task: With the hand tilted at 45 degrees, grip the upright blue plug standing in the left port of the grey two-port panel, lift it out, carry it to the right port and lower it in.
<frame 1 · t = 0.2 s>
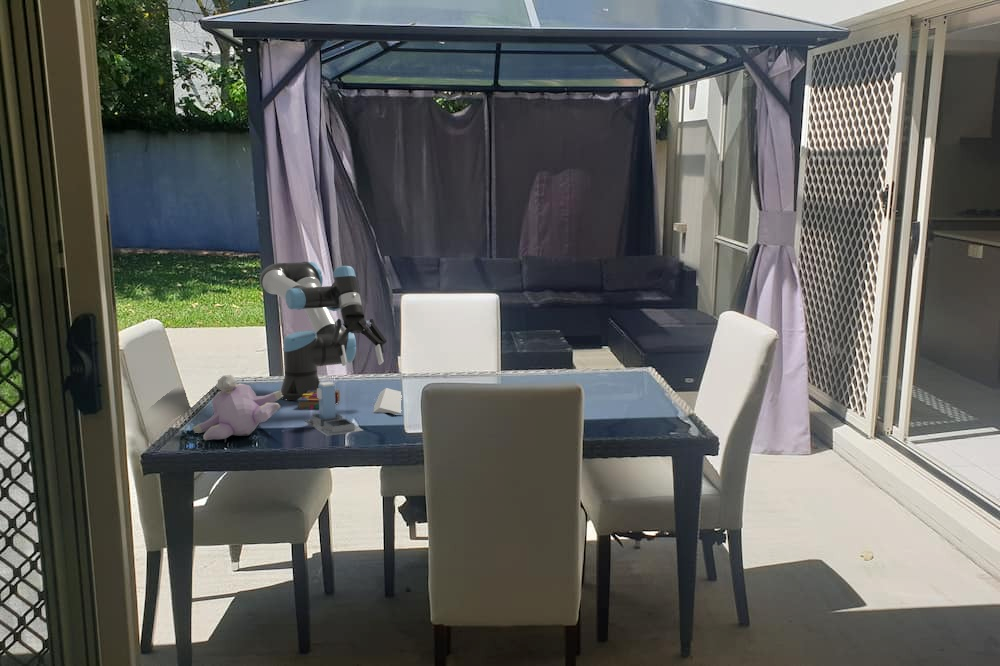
hand: (363, 363, 297), 16 cm above the table, tool tilted 35°, fingers open, 13 cm apart
decorative book: (319, 408, 303), on the table
toy: (239, 430, 274), on the table
plug: (327, 421, 279), point 1 cm above the table, touching panel
panel: (333, 429, 275), on the table
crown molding: (389, 407, 306), on the table
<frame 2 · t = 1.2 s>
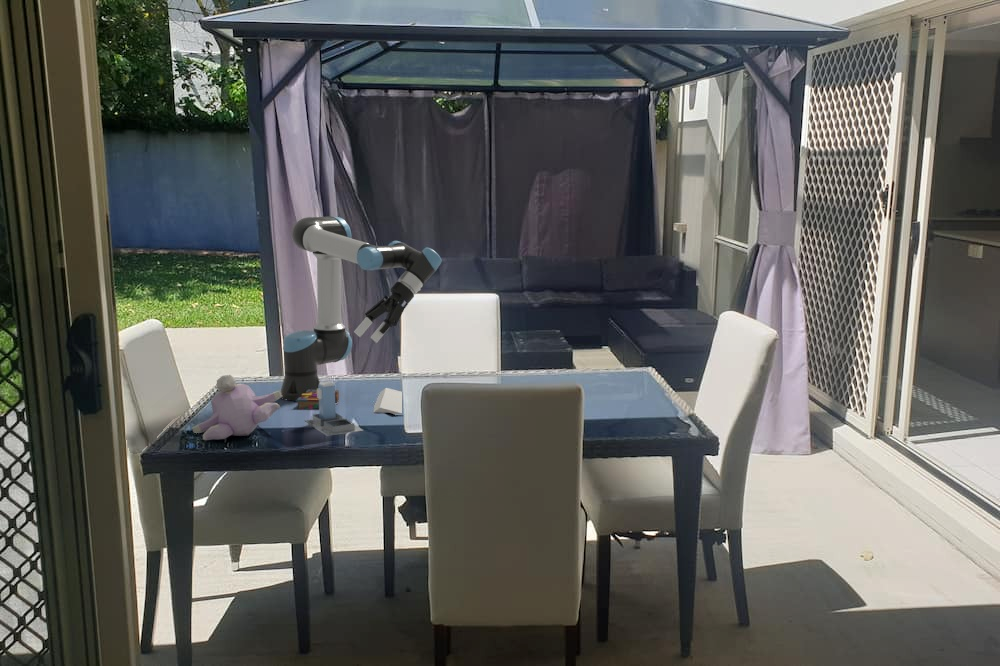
hand: (364, 337, 281), 27 cm above the table, tool tilted 45°, fingers open, 13 cm apart
nothing on the table moved.
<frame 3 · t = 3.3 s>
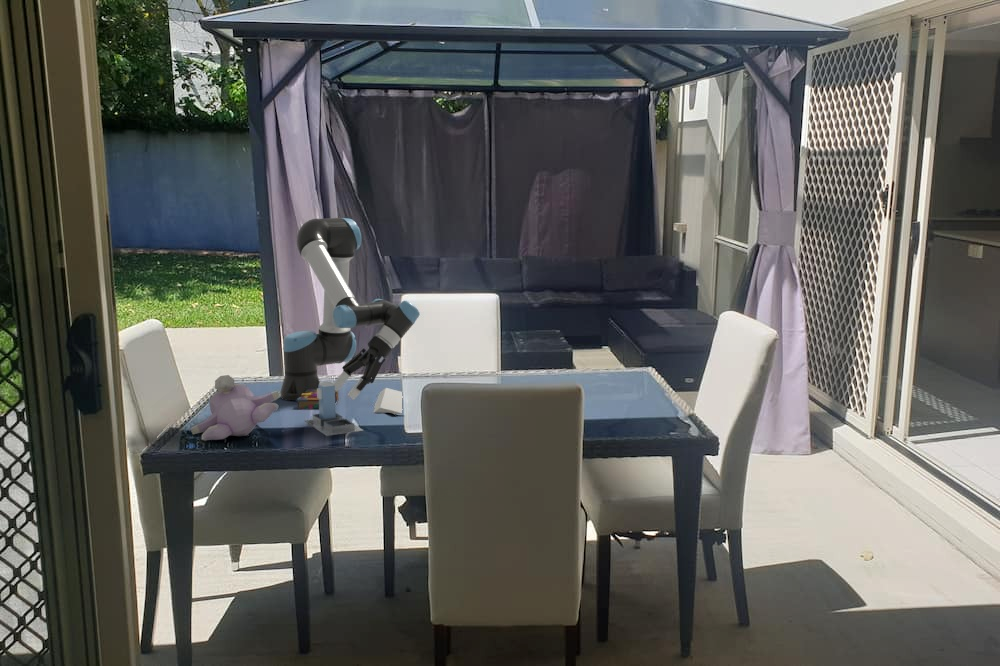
hand: (342, 393, 279), 10 cm above the table, tool tilted 45°, fingers open, 13 cm apart
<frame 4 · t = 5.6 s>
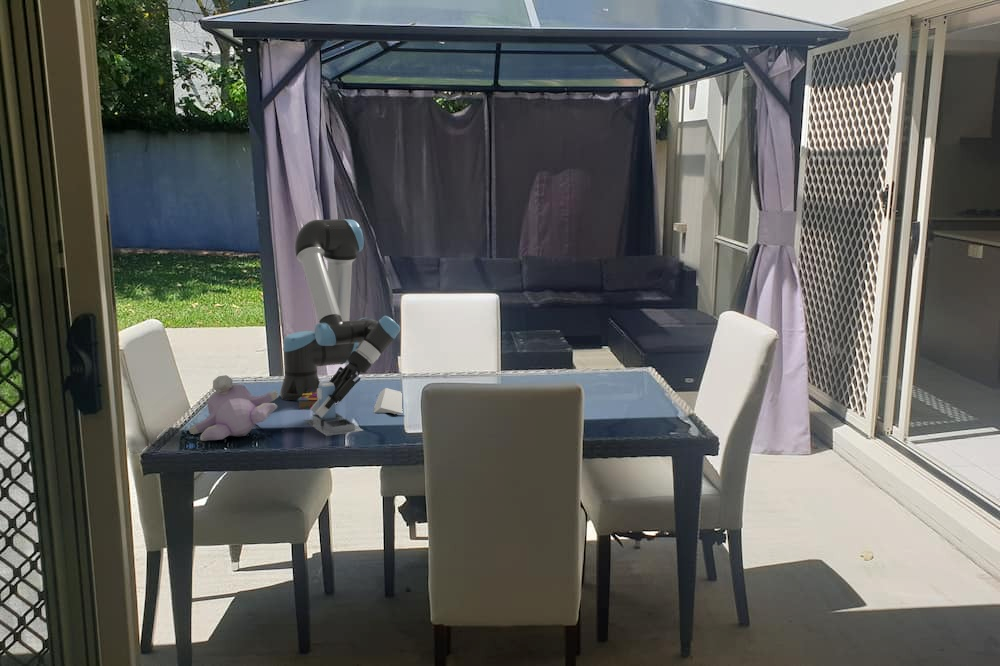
hand: (316, 413, 276), 4 cm above the table, tool tilted 45°, fingers closed on plug, 4 cm apart
plug: (327, 421, 279), point 1 cm above the table, touching gripper, panel
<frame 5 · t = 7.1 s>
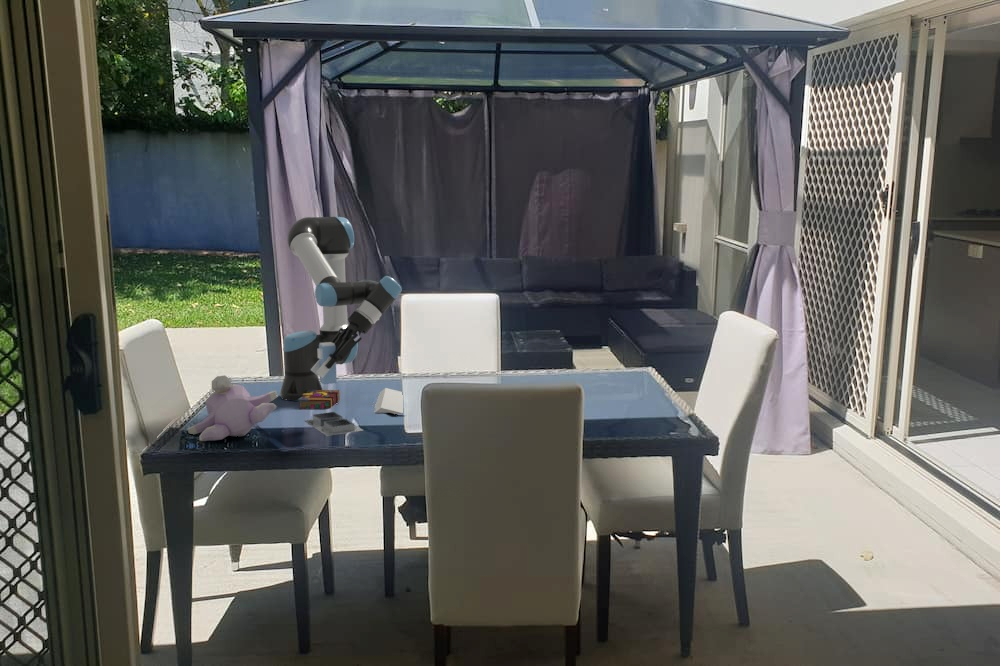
hand: (316, 373, 273), 18 cm above the table, tool tilted 45°, fingers closed on plug, 4 cm apart
decorative book: (319, 407, 303), on the table, touching arm
plug: (328, 382, 276), point 14 cm above the table, touching gripper
when the fingers open (5 cm above the table, at t = 9.5 s): plug drops 1 cm, resting on panel.
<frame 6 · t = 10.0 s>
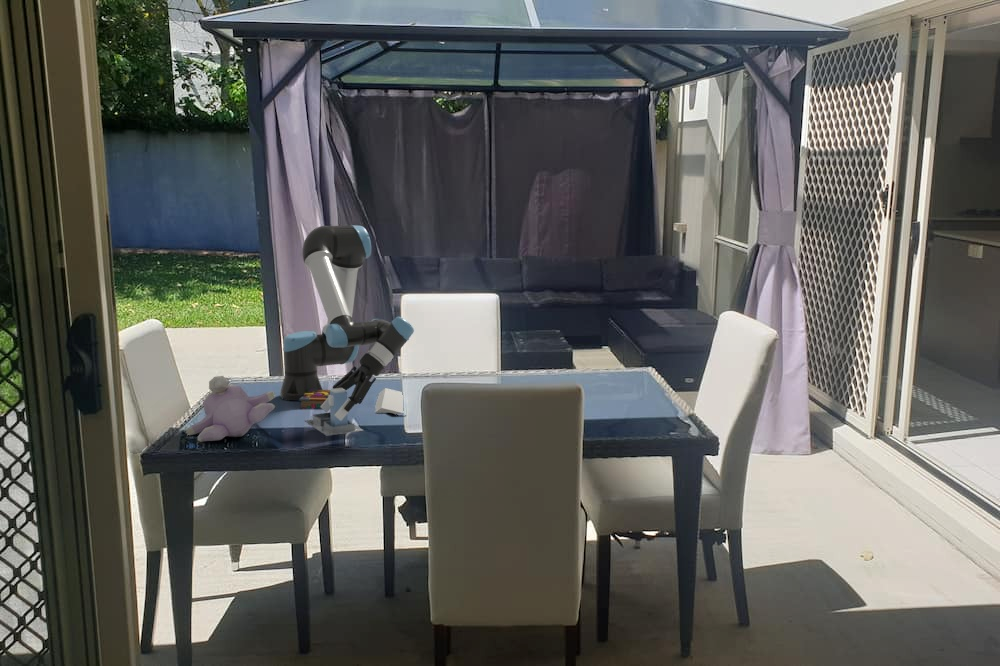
hand: (330, 413, 268), 6 cm above the table, tool tilted 45°, fingers open, 11 cm apart
decorative book: (320, 407, 304), on the table
plug: (339, 429, 271), point 1 cm above the table, touching panel
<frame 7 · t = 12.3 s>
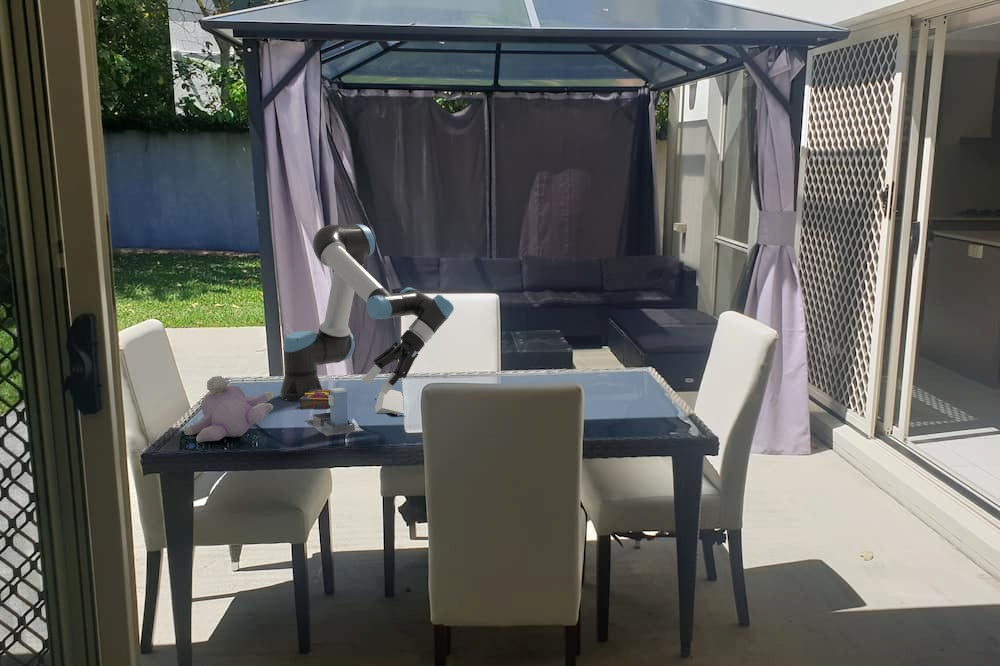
hand: (373, 387, 275), 13 cm above the table, tool tilted 45°, fingers open, 13 cm apart
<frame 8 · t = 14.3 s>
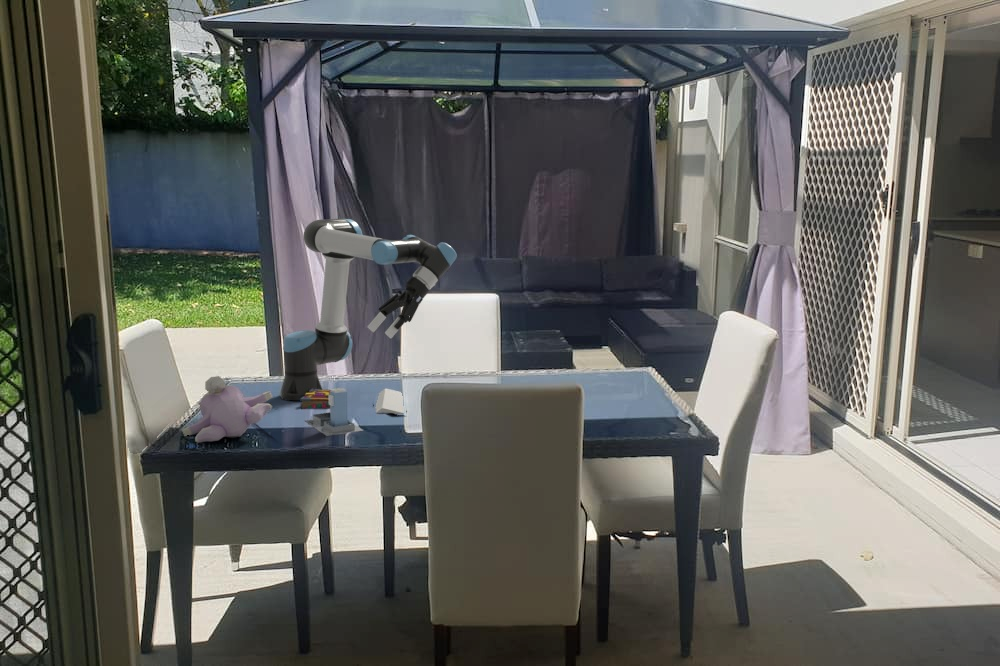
hand: (378, 332, 277), 30 cm above the table, tool tilted 45°, fingers open, 13 cm apart
at the end: plug 0.0 cm from the target spot on the panel, point 1.2 cm above the panel's base; plug tilted 0°; the gripper is holding nothing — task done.
